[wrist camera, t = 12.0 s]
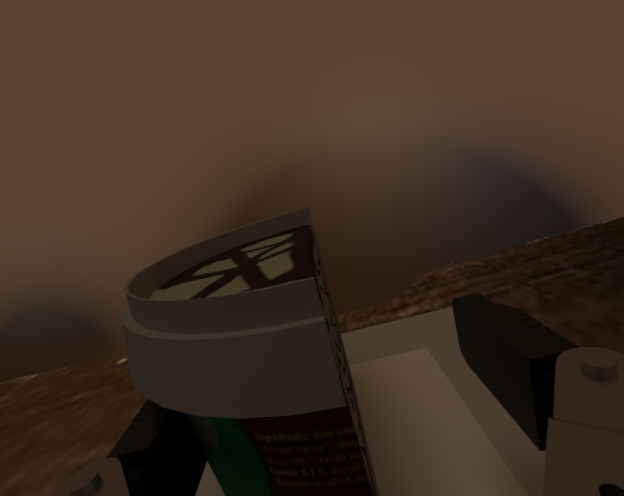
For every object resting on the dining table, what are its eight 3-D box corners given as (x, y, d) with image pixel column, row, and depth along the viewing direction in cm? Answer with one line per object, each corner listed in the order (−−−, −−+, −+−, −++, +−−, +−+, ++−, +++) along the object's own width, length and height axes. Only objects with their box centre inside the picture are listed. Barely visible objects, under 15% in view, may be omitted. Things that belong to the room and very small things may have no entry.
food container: (248, 402, 19) (191, 236, 17) (352, 377, 19) (308, 205, 17) (154, 778, 7) (-73, 386, 5) (431, 723, 7) (315, 288, 5)
